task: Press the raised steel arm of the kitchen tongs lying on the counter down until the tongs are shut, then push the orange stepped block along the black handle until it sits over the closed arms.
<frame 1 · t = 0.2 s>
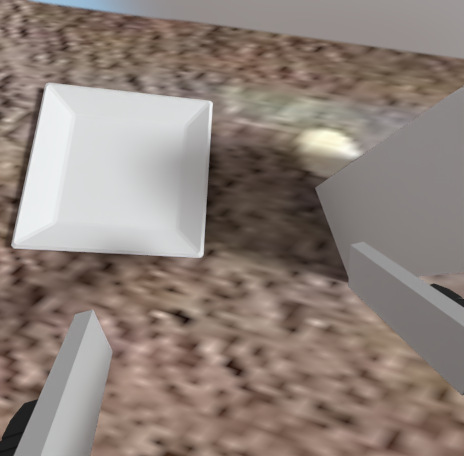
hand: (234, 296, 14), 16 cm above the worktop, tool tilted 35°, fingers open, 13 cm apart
milk: (372, 221, 33), on the worktop
plate: (126, 174, 31), on the worktop
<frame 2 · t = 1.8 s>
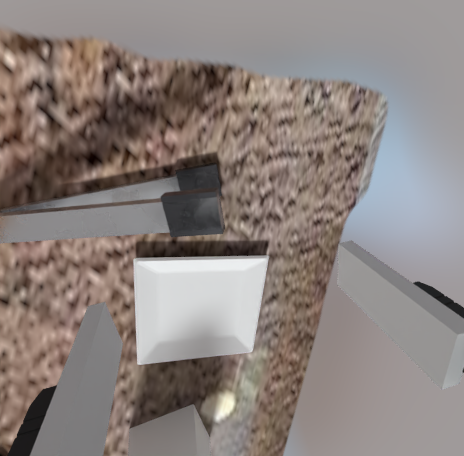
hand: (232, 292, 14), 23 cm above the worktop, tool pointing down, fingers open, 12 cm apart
milk: (172, 432, 52), on the worktop
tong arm: (92, 220, 27), point 7 cm above the worktop, hinge at 22.0°
plate: (199, 303, 42), on the worktop
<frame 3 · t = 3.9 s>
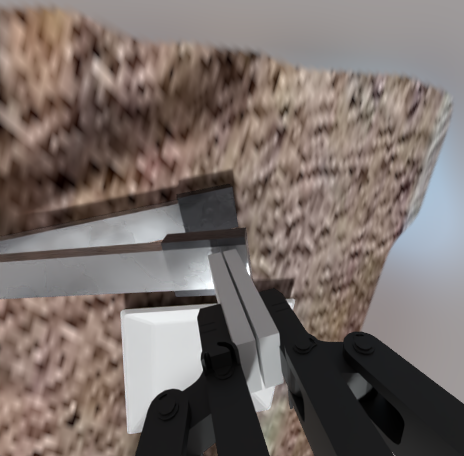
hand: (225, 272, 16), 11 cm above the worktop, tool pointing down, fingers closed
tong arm: (60, 272, 19), point 6 cm above the worktop, hinge at 19.6°, touching gripper
plate: (206, 354, 34), on the worktop
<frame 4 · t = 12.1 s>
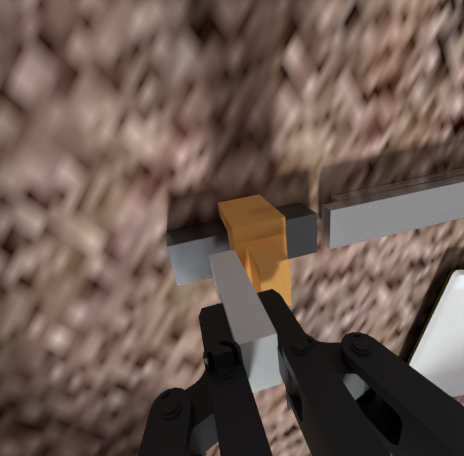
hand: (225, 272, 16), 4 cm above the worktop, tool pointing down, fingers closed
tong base: (312, 218, 21), on the worktop
orange stepped block: (257, 256, 17), point 4 cm above the worktop, slide at 0.3 cm, touching gripper
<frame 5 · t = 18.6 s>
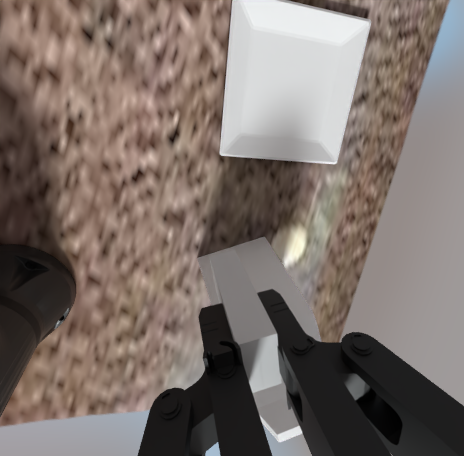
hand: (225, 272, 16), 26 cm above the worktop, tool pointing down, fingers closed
milk: (238, 273, 48), on the worktop
plate: (287, 90, 38), on the worktop
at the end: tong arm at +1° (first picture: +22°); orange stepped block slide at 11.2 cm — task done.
